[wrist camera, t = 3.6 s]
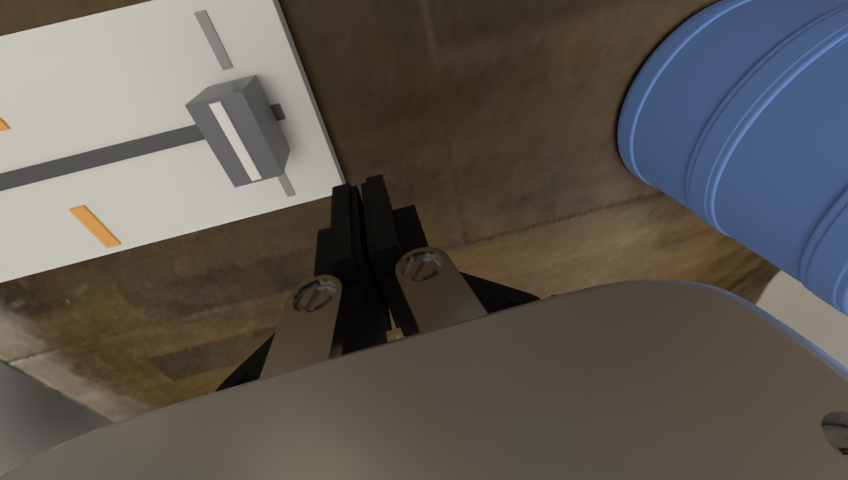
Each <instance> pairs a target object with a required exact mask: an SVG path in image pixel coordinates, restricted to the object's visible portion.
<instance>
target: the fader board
mask: <svg viewBox="0 0 848 480" xmlns="http://www.w3.org/2000/svg"><path fill="white" fill-rule="evenodd" d="M253 75H256V76H257V78H258V80H259V82H260V85H261V87H262V89H263V91H264V93H265V96H266V98H267V100H268V102H269V104H270V106H271V109H272V111H273V113H274V115H275V117H276V120H277V122H278V124H279V126H280V128H281V131H282V133H283V135H284V137H285V139H286V141H287V144H288V146H289V148H290V153H289V156H288V160H287V163H286V167H285V170H284V174H283V175H282V176H278V177H274V178H270V179H266V180H262V181H259V182H255V183H251V184H247V185H243V186H239V187H234V185H233V184H232V182H231V180H230V179H229V177H228V175H227V174H226V172H225V171H224V169H223V167H222V166H221V164H220V162H219V161H218V159H217V157H216V156H215V154H214V153H213V151H212V149H211V148H210V146H209V144H208V143H207V141H206V139H205V138H204V136H203V135H202V133H201V131H200V130H199V128H198V126H197V125H196V123H195V121H194V120H193V118H192V116H191V115H190V113H189V112H188V110H187V108H186V107H185V105H186V104H187V103H188V102H189V101H191V100H192V99H193V98H194V97H196V96H197V95H198V94H199V93H201V92H202V91H203V90H204V89H205V88H207V87H208V86H212V85H216V84H220V83H224V82H229V81H233V80H237V79H241V78H245V77H249V76H253ZM342 184H345V179H344V176H343V173H342V171H341V168H340V165H339V162H338V160H337V157H336V154H335V152H334V149H333V146H332V144H331V141H330V138H329V136H328V133H327V130H326V128H325V125H324V122H323V120H322V117H321V114H320V111H319V109H318V106H317V103H316V101H315V98H314V95H313V93H312V90H311V87H310V85H309V82H308V79H307V77H306V74H305V71H304V69H303V66H302V63H301V60H300V58H299V55H298V52H297V50H296V47H295V44H294V42H293V39H292V36H291V34H290V31H289V28H288V26H287V23H286V20H285V18H284V15H283V12H282V10H281V7H280V4H279V1H278V0H153V1H149V2H144V3H140V4H136V5H132V6H127V7H123V8H119V9H115V10H110V11H106V12H102V13H98V14H93V15H89V16H85V17H81V18H77V19H72V20H68V21H64V22H60V23H55V24H51V25H47V26H43V27H38V28H34V29H30V30H26V31H21V32H17V33H13V34H9V35H5V36H0V283H1V282H4V281H8V280H12V279H16V278H20V277H23V276H27V275H31V274H35V273H39V272H42V271H46V270H50V269H54V268H58V267H61V266H65V265H69V264H73V263H77V262H80V261H84V260H88V259H92V258H95V257H99V256H103V255H107V254H111V253H114V252H118V251H122V250H126V249H130V248H133V247H137V246H141V245H145V244H149V243H152V242H156V241H160V240H164V239H168V238H171V237H175V236H179V235H183V234H187V233H190V232H194V231H198V230H202V229H206V228H209V227H213V226H217V225H221V224H225V223H228V222H232V221H236V220H240V219H244V218H247V217H251V216H255V215H259V214H263V213H266V212H270V211H274V210H278V209H282V208H285V207H289V206H293V205H297V204H301V203H304V202H308V201H312V200H316V199H320V198H323V197H327V196H331V195H332V187H335V186H338V185H342Z"/></svg>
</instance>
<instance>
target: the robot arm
mask: <svg viewBox="0 0 848 480" xmlns="http://www.w3.org/2000/svg"><path fill="white" fill-rule="evenodd" d="M366 181H367V183H363V184H361V188H362V198H363V202H362V199H361V196H360V193H359V190H358V188H357V186H352V187H351V186H350V184H349V183H346V184H342V185H338V186H335V187H332V207H331V227H329V228H326V229H322V230H319V231H318V238H317V249H316V260H315V271H314V277H312V278H310V279H308V280H306V281H304V282H302V283H301V284H300V285H298V286H297V287H296V288H295V289H294V290H293V291H292V292H291V294H290V295H289V297H288V299H287V302H286V305H285V307H284V310H283V313H282V316H281V319H280V321H279V324H278V327H277V330H276V332H275V333H274V334H273V335H272V336H271V337H270V338H269V339H268V340H267V341H266V342H265V343H264V344H263V345H262V346H261V347H259V348H258V349H257V350H256V351H255V352H254V353H253V354H252V355H251V356H250V357H249V358H248V359H247V360H246V361H245V362H244V363H243V364H241V365H240V366H239V367H238V368H237V369H236V370H235V371H234V372H233V373H232V374H231V375H230V376H229V377H228V378H227V379H226V380H225V381H224V382H223V383H222V384H221V385H220V386H219V387H218V388H217V390H216V391H215V392H214V393H210V394H208V393H207V394H205V395H203V396H200V397H197V398H193V399H190V400H186V401H183V402H180V403H176V404H173V405H170V406H166V407H163V408H159V409H156V410H153V411H150V412H147V413H144V414H141V415H138V416H135V417H132V418H129V419H126V420H122V421H119V422H116V423H113V424H110V425H107V426H104V427H101V428H98V429H96V430H93V431H91V432H88V433H86V434H83V435H81V436H78V437H76V438H73V439H70V440H68V441H66V442H64V443H62V444H60V445H58V446H56V447H54V448H52V449H50V450H47V451H45V452H43V453H41V454H39V455H37V456H35V457H33V458H32V459H30V460H28V461H26V462H25V463H23V464H21V465H20V466H18V467H16V468H14V469H13V470H11V471H9V472H8V473H6V474H4V475H3V476H1V477H0V480H848V369H847V368H846V367H844V366H843V365H842V364H840V363H839V362H838V361H836V360H835V359H834V358H832V357H831V356H829V355H828V354H827V353H825V352H824V351H823V350H821V349H820V348H819V347H817V346H816V345H814V344H813V343H812V342H810V341H809V340H807V339H806V338H804V337H803V336H802V335H800V334H799V333H797V332H796V331H794V330H793V329H792V328H790V327H788V326H787V325H785V324H784V323H782V322H781V321H779V320H778V319H776V318H775V317H773V316H771V315H770V314H769V313H767V312H765V311H764V310H762V309H760V308H759V307H757V306H756V305H754V304H752V303H751V302H749V301H747V300H745V299H743V298H741V297H739V296H737V295H736V294H733V293H731V292H729V291H726V290H724V289H722V288H718V287H715V286H711V285H708V284H703V283H697V282H691V281H681V280H652V279H647V280H635V281H622V282H616V283H610V284H604V285H598V286H593V287H589V288H585V289H581V290H577V291H572V292H568V293H564V294H560V295H551V297H548V298H544V299H540V298H539V297H537V296H534V295H532V294H530V293H527V292H523V291H520V290H517V289H514V288H511V287H507V286H504V285H501V284H498V283H494V282H491V281H488V280H485V279H482V278H478V277H475V276H472V275H469V274H466V273H462V272H459V271H458V269H457V268H456V266H455V265H454V263H453V262H452V260H451V259H450V257H449V256H448V255H447V254H446V253H445V252H444V251H443V250H440V249H438V248H434V247H429V246H428V243H427V241H426V238H425V235H424V232H423V229H422V226H421V223H420V220H419V217H418V214H417V211H416V208H415V206H414V205H411V206H407V207H404V208H400V209H396V210H392V206H391V203H390V199H389V196H388V192H387V189H386V186H385V182H384V179H383V175H382V174H380V175H376V176H372V177H369V178H366ZM389 309H390V312H391V314H392V317H393V320H394V322H395V325H396V327H397V328H400V327H401V330H402V333H403V335H404V336H406V337H404V338H401V339H397V340H394V341H390V342H387V336H386V331H390V330H392V326H391V320H390V313H389Z"/></svg>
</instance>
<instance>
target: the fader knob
mask: <svg viewBox="0 0 848 480" xmlns="http://www.w3.org/2000/svg"><path fill="white" fill-rule="evenodd" d="M185 107H186V108H187V110H188V112H189V113H190V115H191V116H192V118H193V120H194V121H195V123H196V125H197V126H198V128H199V130H200V131H201V133H202V135H203V136H204V138H205V139H206V141H207V143H208V144H209V146H210V148H211V149H212V151H213V153H214V154H215V156H216V157H217V159H218V161H219V162H220V164H221V166H222V167H223V169H224V171H225V172H226V174H227V175H228V177H229V179H230V180H231V182H232V184H233V185H234V187H239V186H243V185H247V184H251V183H255V182H259V181H262V180H266V179H270V178H274V177H278V176H282V175H283V174H284V170H285V167H286V163H287V160H288V156H289V153H290V148H289V146H288V144H287V141H286V139H285V137H284V135H283V133H282V131H281V128H280V126H279V124H278V122H277V120H276V117H275V115H274V113H273V111H272V109H271V106H270V104H269V102H268V100H267V98H266V96H265V93H264V91H263V89H262V87H261V85H260V82H259V80H258V78H257V76H256V75H253V76H249V77H245V78H241V79H237V80H233V81H229V82H224V83H220V84H216V85H212V86H208V87H207V88H205V89H204V90H203V91H202V92H201V93H199V94H198V95H197V96H196V97H194V98H193V99H192V100H191V101H189V102H188V103H187V104H186V105H185Z"/></svg>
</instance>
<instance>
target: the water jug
mask: <svg viewBox="0 0 848 480" xmlns="http://www.w3.org/2000/svg"><path fill="white" fill-rule="evenodd" d="M617 141H618V148H619V153H620V156H621V158H622V160H623V162H624V164H625V166H626V167H627V168H628V170H629V171H630V172H631V173H632V174H634V175H635V176H636V177H638V178H639V179H641V180H642V181H644V182H645V183H647V184H649V185H651V186H653V187H656V188H658V189H659V190H661V191H662V192H664V193H665V194H667V195H668V196H670V197H671V198H673V199H674V200H676V201H678V202H679V203H681V204H682V205H684V206H685V207H687V208H688V209H690V210H691V211H693V212H694V214H695V215H697V216H698V217H699V218H700V219H701V220H703V221H704V222H706V223H707V224H709V225H710V226H712V227H713V228H715V229H716V230H718V231H719V232H721V233H723V234H725V235H727V236H729V237H732V238H734V239H735V240H737V241H738V242H740V243H741V244H743V245H745V246H746V247H748V248H749V249H751V250H752V251H754V252H755V253H757V254H758V255H760V256H761V257H763V258H764V259H766V260H767V261H769V262H770V263H772V264H773V265H775V266H776V267H778V268H780V269H781V270H783V271H784V272H786V273H787V274H789V275H790V276H792V277H793V278H795V279H796V280H798V281H800V282H801V283H802V284H803V285H804V286H805V287H806V288H807V289H808V290H809V291H811V292H812V293H813V294H814V295H816V296H818V297H819V298H820V299H822V300H823V301H825V302H826V303H828V304H829V305H831V306H832V307H834V308H835V309H837V310H839V311H840V312H842V313H844V314H846V315H847V316H848V0H722V1H719V2H717V3H715V4H713V5H711V6H709V7H707V8H705V9H703V10H702V11H700V12H698V13H697V14H695V15H694V16H692V17H691V18H689V19H688V20H687V21H685V22H684V23H683V24H681V25H680V26H679V27H678V28H677V29H675V30H674V31H673V32H672V33H671V34H670V35H669V36H668V37H667V38H666V39H665V40H664V41H663V42H662V43H661V44H660V45H659V46H658V47H657V48H656V50H655V51H654V52H653V53H652V54H651V56H650V57H649V58H648V60H647V61H646V62H645V64H644V65H643V67H642V68H641V70H640V71H639V73H638V74H637V76H636V78H635V79H634V81H633V83H632V85H631V87H630V89H629V91H628V93H627V96H626V98H625V100H624V103H623V106H622V109H621V113H620V117H619V122H618V131H617Z"/></svg>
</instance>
